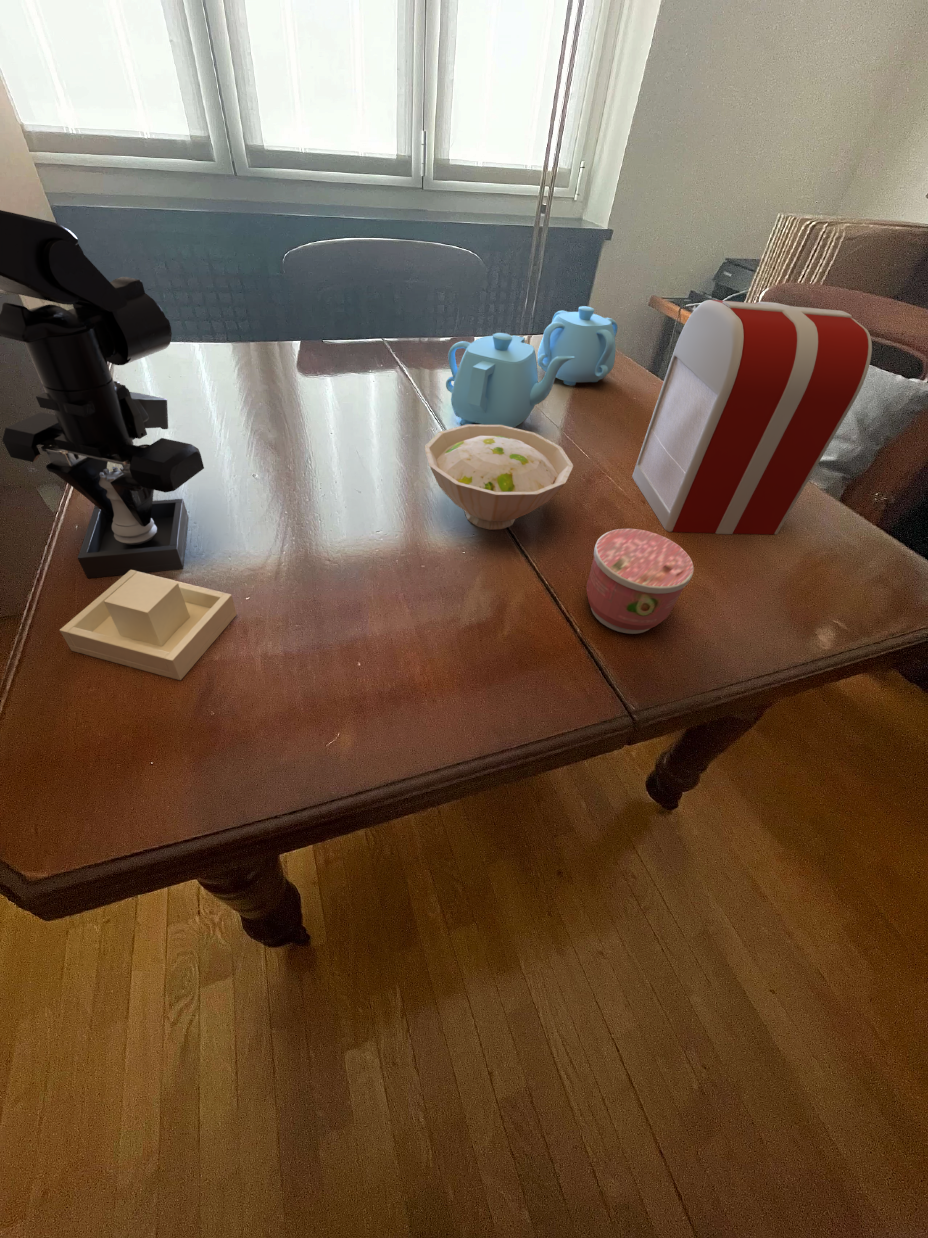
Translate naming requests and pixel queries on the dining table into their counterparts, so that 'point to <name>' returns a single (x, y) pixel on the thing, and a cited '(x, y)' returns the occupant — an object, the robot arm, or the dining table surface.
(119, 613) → the cream block
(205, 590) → the cream tray
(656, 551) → the container
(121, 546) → the charcoal tray
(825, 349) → the red striped display case
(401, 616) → the dining table surface
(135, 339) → the robot arm
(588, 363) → the decorative pot
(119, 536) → the rook chess piece
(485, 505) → the bowl
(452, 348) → the teapot
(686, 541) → the dining table surface
